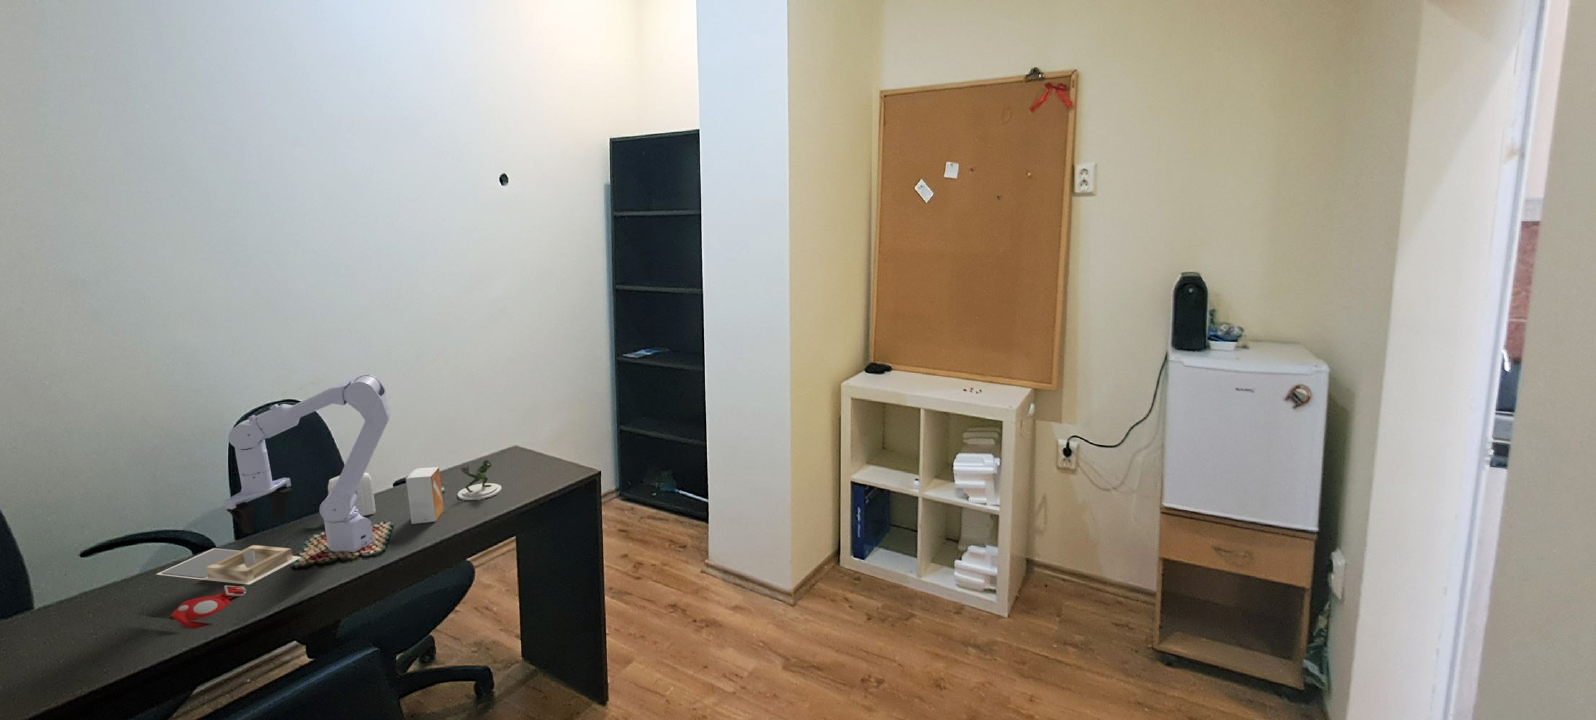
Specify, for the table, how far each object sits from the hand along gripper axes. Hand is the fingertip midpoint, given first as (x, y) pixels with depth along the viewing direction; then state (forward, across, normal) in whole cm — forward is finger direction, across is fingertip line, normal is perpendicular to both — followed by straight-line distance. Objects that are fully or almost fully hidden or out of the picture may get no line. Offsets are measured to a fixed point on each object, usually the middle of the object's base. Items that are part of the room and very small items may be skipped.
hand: (264, 525), depth 163 cm
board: (+9, +6, -5) cm, 12 cm away
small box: (+10, -30, +19) cm, 36 cm away
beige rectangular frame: (+8, +5, +1) cm, 10 cm away
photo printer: (+10, -26, -2) cm, 28 cm away
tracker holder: (+10, +21, +9) cm, 25 cm away
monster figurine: (+10, -48, +21) cm, 53 cm away
